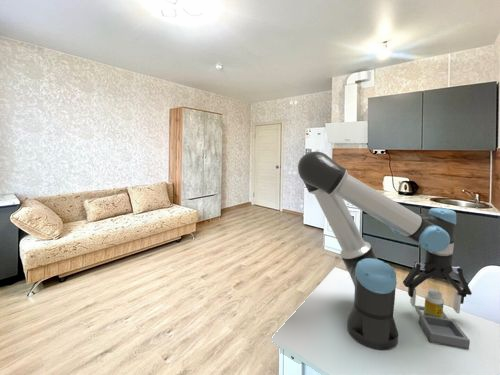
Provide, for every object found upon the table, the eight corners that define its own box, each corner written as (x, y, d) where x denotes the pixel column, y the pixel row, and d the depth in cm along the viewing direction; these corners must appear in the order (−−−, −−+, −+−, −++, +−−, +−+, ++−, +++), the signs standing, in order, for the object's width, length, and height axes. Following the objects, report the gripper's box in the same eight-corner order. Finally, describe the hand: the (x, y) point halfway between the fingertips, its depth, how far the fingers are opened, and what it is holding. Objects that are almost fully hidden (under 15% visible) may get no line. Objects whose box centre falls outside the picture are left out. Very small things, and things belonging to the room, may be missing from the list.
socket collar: (423, 321, 87) (423, 319, 87) (414, 307, 95) (414, 305, 95) (453, 326, 84) (453, 324, 84) (441, 311, 93) (441, 309, 93)
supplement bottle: (427, 310, 94) (429, 286, 92) (444, 317, 89) (447, 293, 88) (421, 315, 91) (423, 290, 89) (438, 323, 86) (440, 297, 85)
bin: (430, 342, 77) (431, 333, 77) (418, 322, 87) (419, 314, 86) (468, 349, 74) (469, 340, 74) (452, 327, 84) (453, 319, 84)
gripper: (402, 252, 87) (398, 308, 89) (489, 260, 80) (482, 320, 82) (396, 244, 94) (392, 296, 97) (475, 251, 87) (469, 307, 89)
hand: (433, 307), depth 89 cm, fingers open, 13 cm apart
